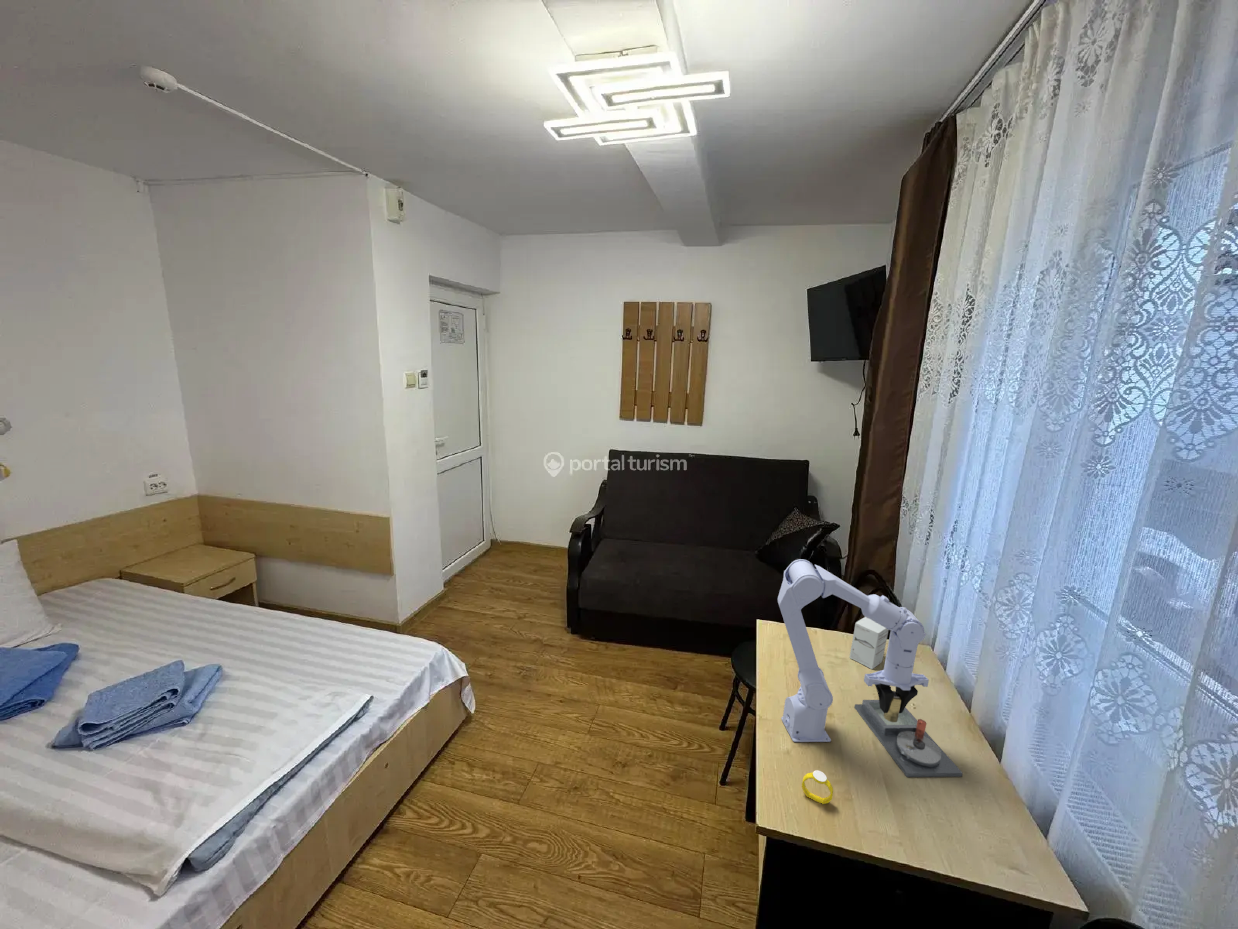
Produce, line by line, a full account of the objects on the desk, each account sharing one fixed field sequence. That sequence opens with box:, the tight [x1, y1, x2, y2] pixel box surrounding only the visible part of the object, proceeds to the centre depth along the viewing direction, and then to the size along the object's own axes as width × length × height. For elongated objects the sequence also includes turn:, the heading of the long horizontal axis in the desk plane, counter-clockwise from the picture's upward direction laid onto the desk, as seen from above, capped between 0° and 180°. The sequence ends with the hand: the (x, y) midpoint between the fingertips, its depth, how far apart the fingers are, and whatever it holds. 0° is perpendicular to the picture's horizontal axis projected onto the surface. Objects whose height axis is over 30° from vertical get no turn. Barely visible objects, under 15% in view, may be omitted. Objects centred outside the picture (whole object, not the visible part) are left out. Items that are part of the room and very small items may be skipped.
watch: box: [801, 769, 834, 805], centre depth 100 cm, size 6×3×6 cm, turn 60°
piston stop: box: [883, 690, 902, 722], centre depth 114 cm, size 3×3×7 cm
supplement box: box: [849, 616, 890, 670], centre depth 148 cm, size 7×7×13 cm
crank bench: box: [854, 699, 963, 778], centre depth 118 cm, size 13×22×4 cm, turn 3°
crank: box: [896, 718, 941, 767], centre depth 112 cm, size 9×9×6 cm
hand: (890, 710), depth 115 cm, fingers closed on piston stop, 3 cm apart
